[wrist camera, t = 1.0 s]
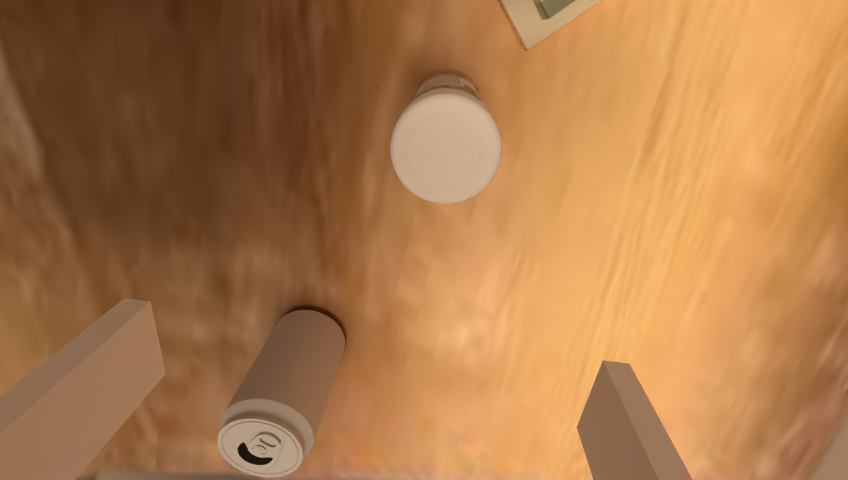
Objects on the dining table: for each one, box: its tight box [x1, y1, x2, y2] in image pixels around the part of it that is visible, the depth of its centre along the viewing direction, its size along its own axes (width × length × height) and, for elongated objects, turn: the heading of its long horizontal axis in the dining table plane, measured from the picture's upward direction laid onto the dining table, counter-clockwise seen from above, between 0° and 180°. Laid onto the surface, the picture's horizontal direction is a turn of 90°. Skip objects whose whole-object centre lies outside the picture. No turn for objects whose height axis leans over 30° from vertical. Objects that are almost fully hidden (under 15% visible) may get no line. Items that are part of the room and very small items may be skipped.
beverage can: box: [217, 310, 345, 478], centre depth 33 cm, size 6×6×12 cm
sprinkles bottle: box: [390, 70, 501, 204], centre depth 23 cm, size 5×5×13 cm
